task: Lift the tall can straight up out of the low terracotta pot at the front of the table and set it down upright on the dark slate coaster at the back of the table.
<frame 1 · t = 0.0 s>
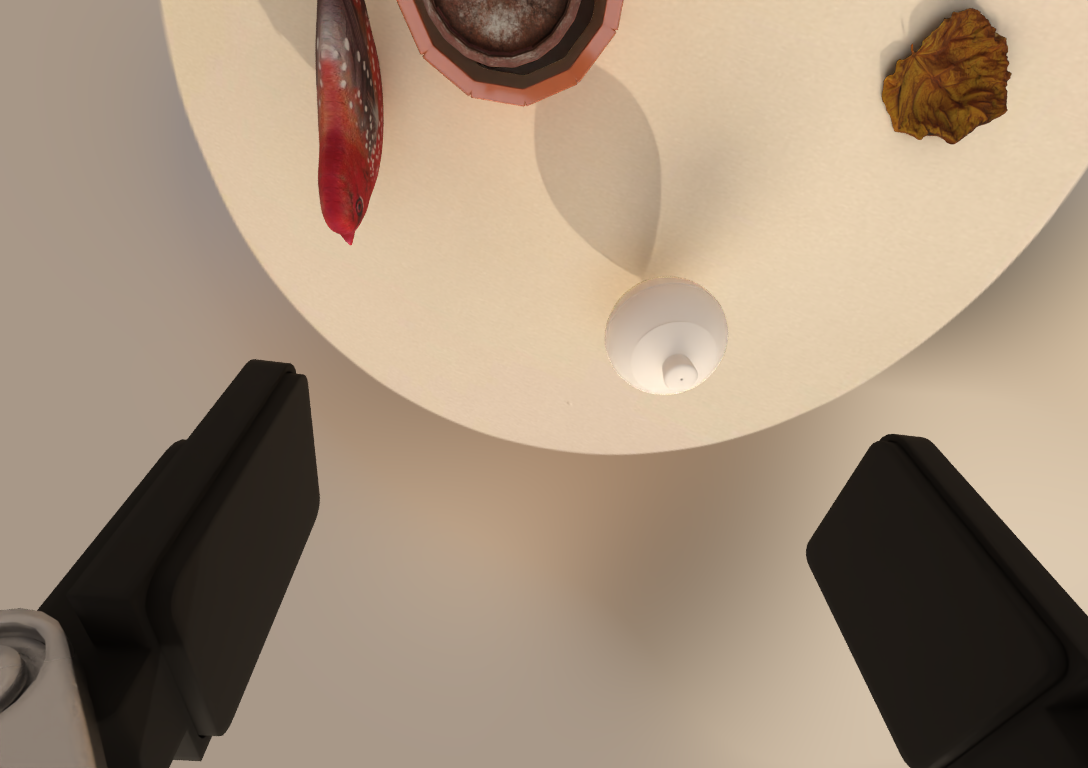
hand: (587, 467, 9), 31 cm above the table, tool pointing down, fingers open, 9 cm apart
spinning top: (646, 287, 41), on the table
decorative bird figurine: (369, 50, 33), on the table
leaf: (936, 78, 34), on the table
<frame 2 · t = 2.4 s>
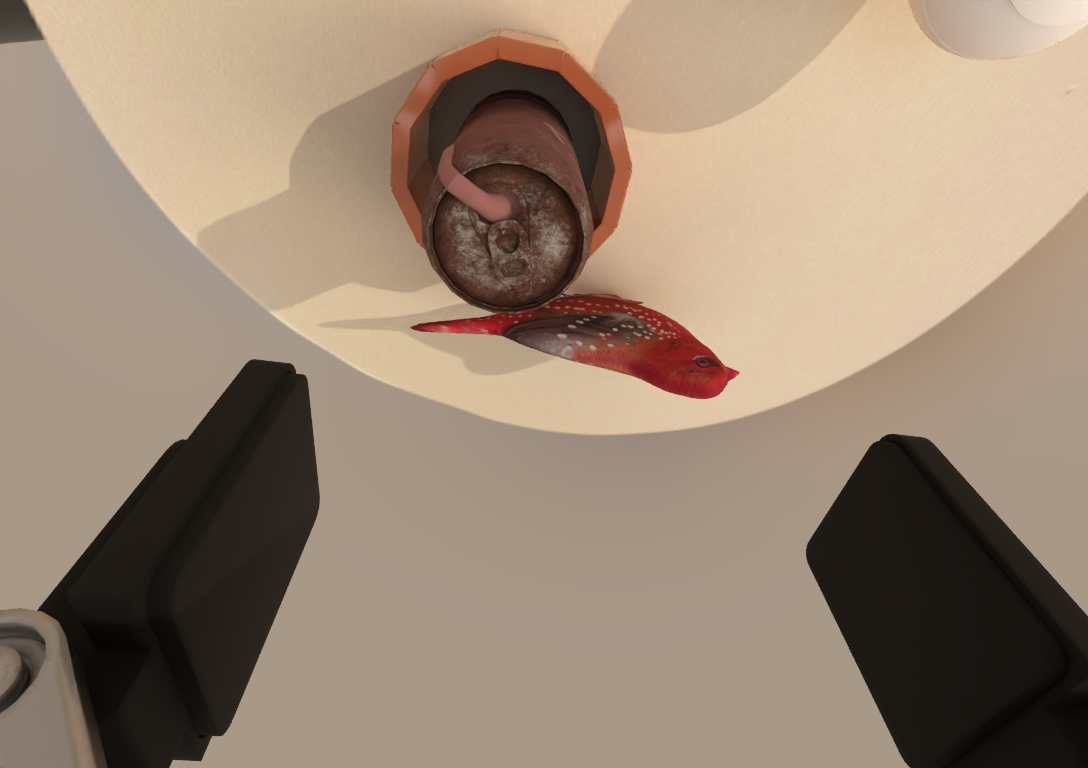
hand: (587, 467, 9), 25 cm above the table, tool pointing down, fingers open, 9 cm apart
can: (514, 148, 31), resting in pot
decorative bird figurine: (567, 291, 36), on the table
pot: (514, 148, 30), on the table
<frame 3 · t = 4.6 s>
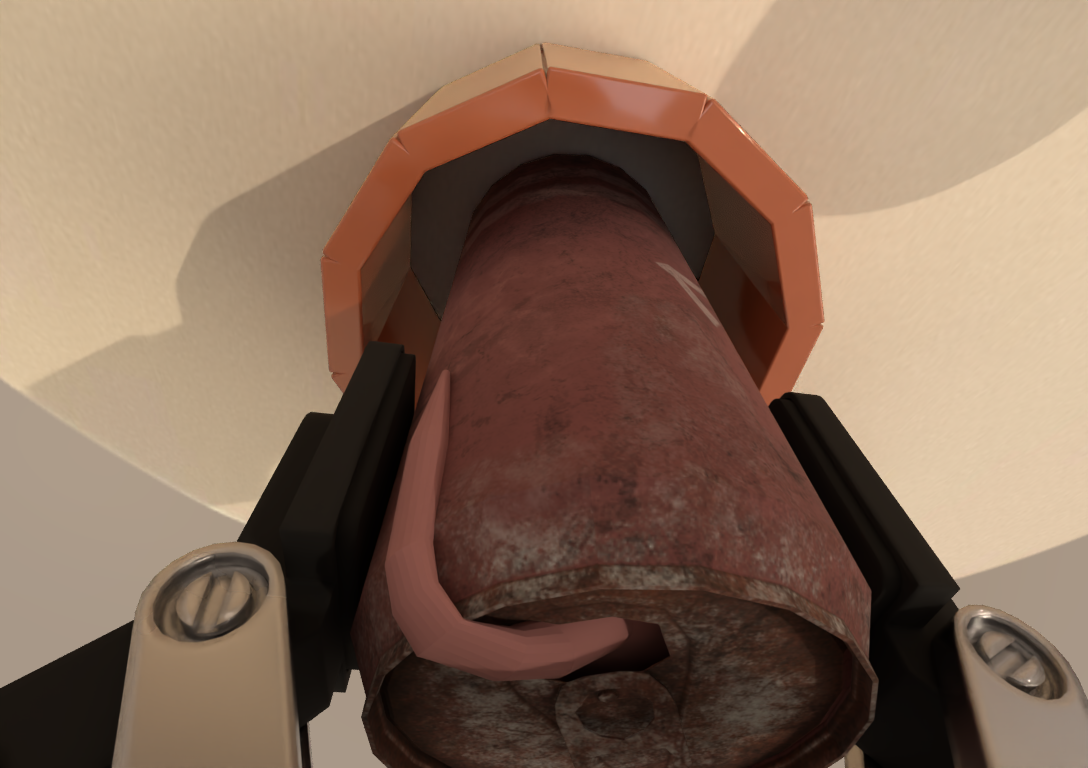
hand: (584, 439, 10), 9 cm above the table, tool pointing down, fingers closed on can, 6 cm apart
can: (560, 247, 18), resting in pot, touching gripper
pot: (560, 250, 17), on the table
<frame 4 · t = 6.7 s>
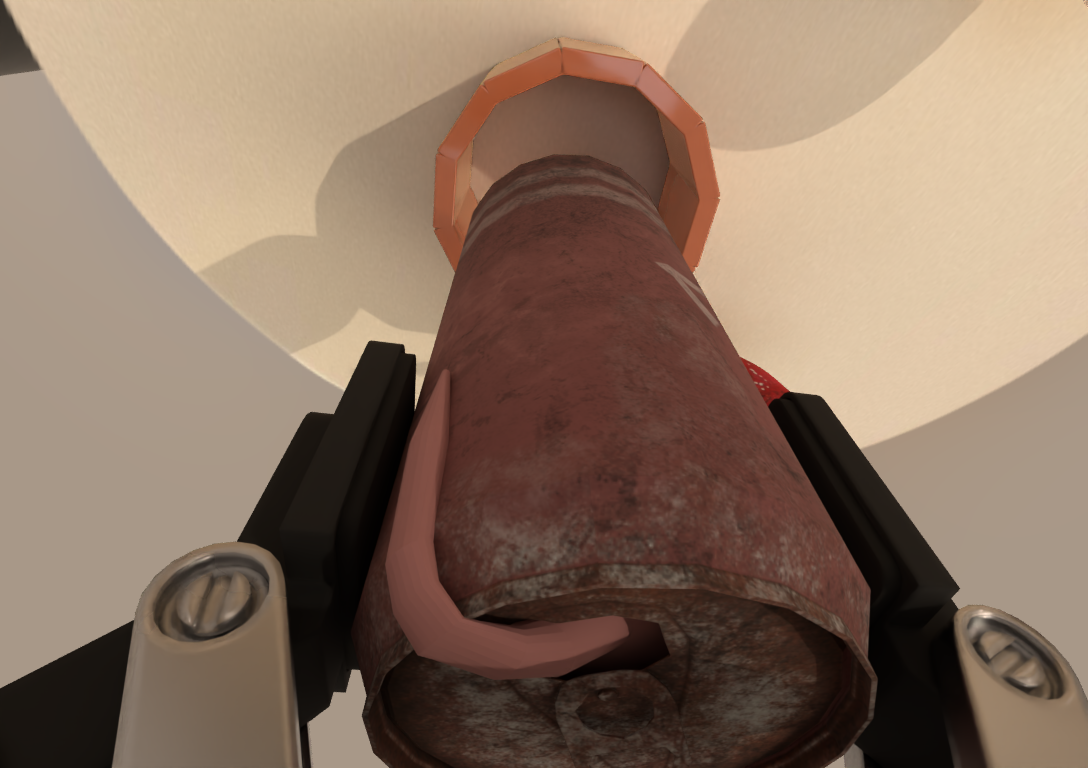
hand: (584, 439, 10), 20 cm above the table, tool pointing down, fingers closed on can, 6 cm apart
can: (560, 247, 18), point 11 cm above the table, touching gripper
decorative bird figurine: (626, 329, 31), on the table
pot: (568, 173, 26), on the table
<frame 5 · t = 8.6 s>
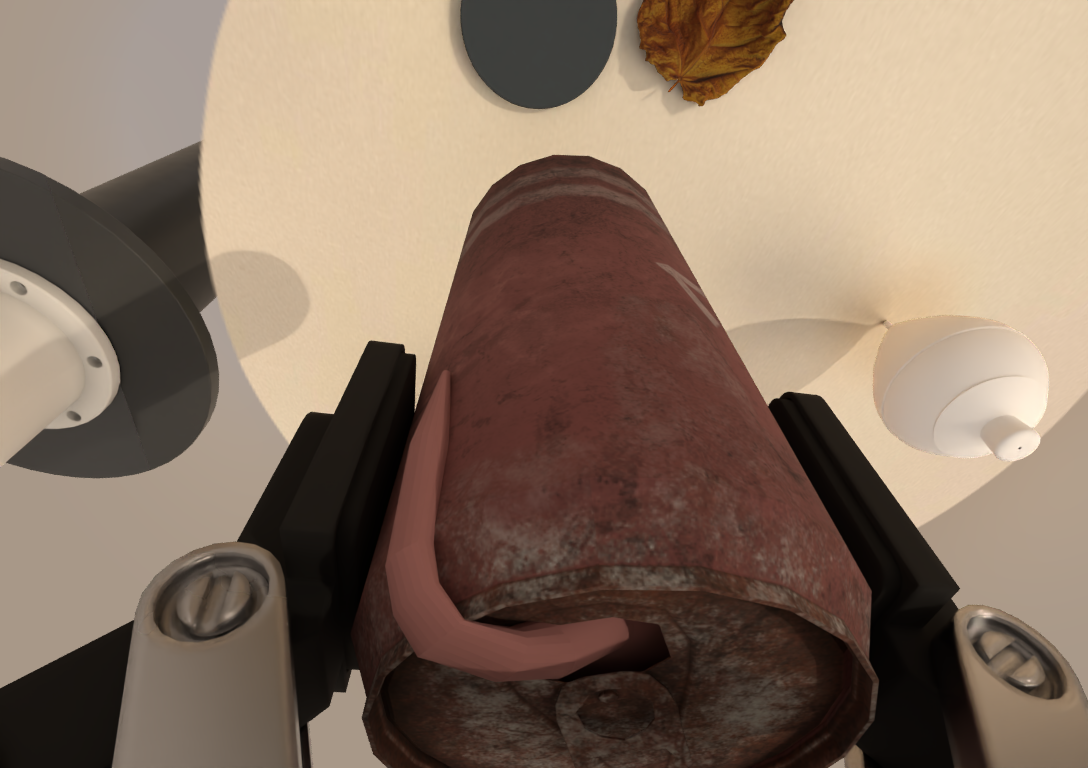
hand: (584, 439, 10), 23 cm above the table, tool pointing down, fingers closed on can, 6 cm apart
spinning top: (884, 320, 36), on the table
can: (560, 248, 18), point 14 cm above the table, touching gripper
leaf: (710, 20, 26), on the table
coaster: (538, 22, 26), on the table
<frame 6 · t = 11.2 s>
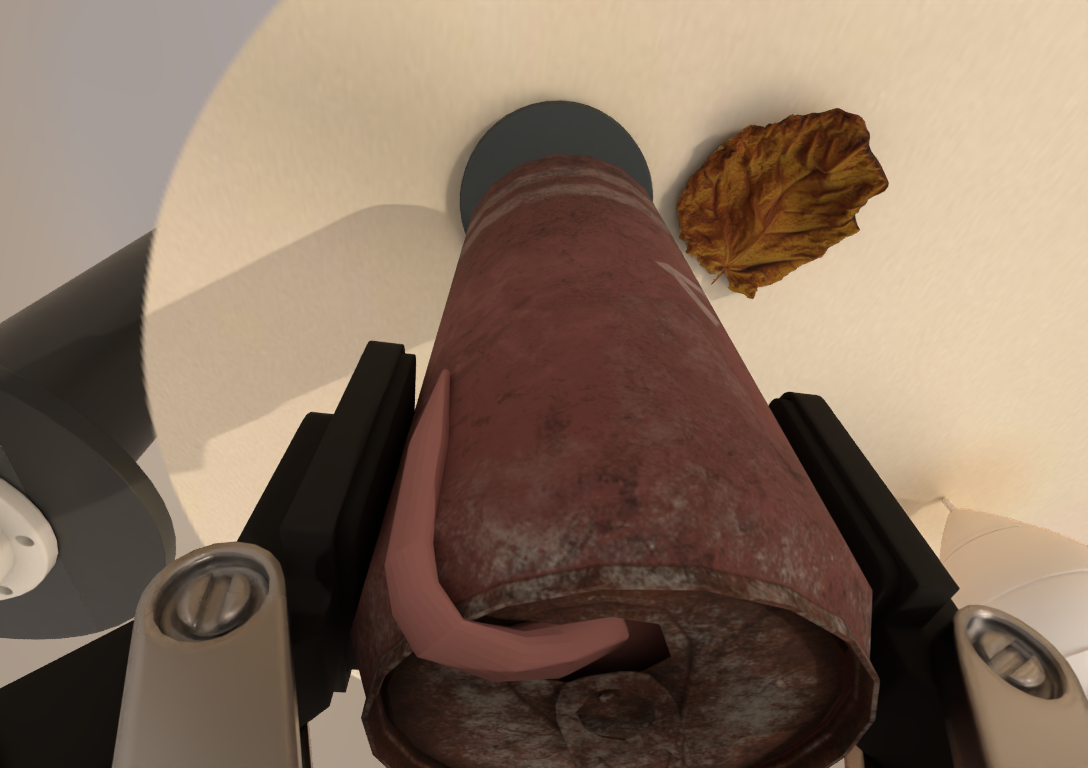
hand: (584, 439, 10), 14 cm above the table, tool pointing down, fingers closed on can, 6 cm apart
spinning top: (942, 496, 31), on the table
can: (560, 247, 18), point 4 cm above the table, touching gripper
leaf: (765, 203, 22), on the table
coaster: (556, 205, 21), on the table
when the fingers open (10 cm above the table, at t = 12.8 s): can stays where it is, resting on coaster.
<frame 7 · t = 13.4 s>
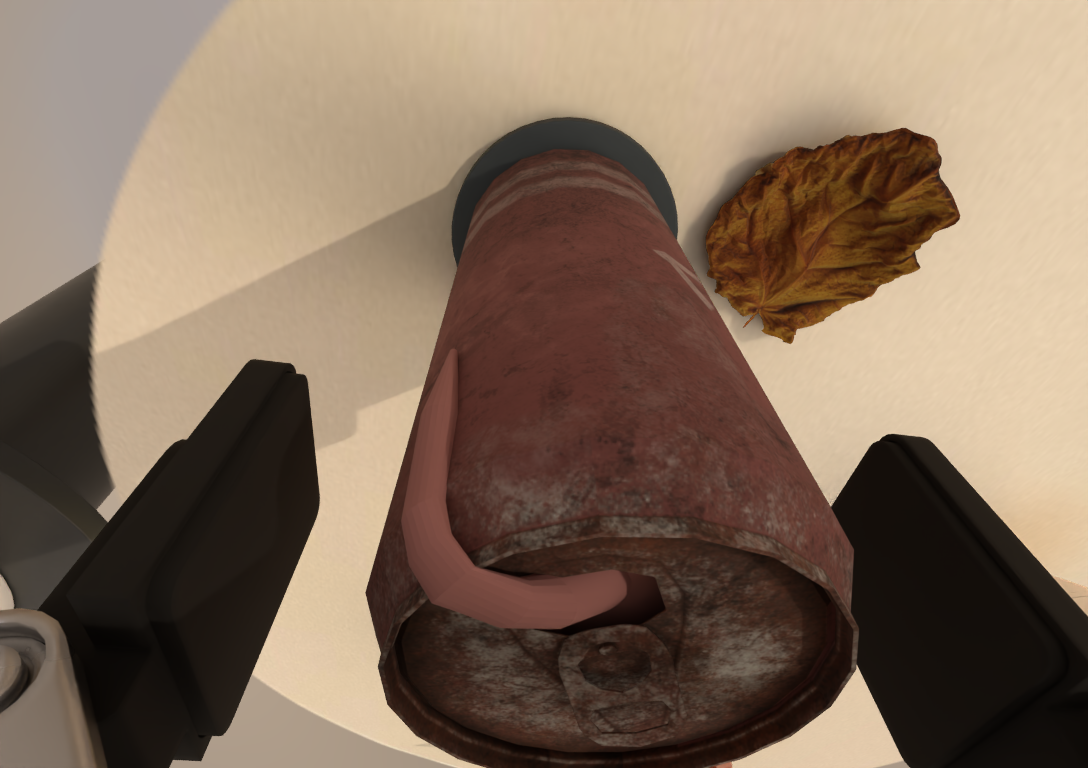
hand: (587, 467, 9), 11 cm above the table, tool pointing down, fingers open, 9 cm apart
spinning top: (990, 549, 28), on the table
can: (560, 240, 18), resting on coaster
leaf: (807, 235, 18), on the table
coaster: (564, 237, 18), on the table
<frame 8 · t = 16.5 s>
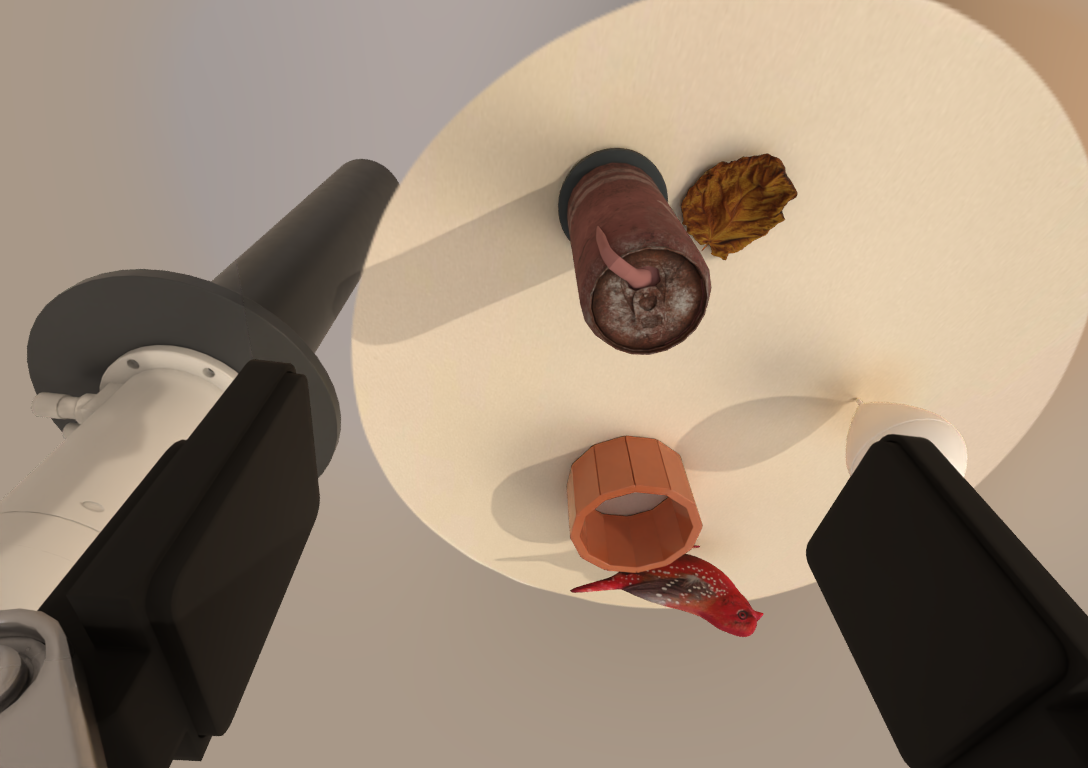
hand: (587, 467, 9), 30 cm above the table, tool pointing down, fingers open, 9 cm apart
spinning top: (856, 398, 47), on the table
can: (610, 206, 37), resting on coaster
decorative bird figurine: (652, 539, 57), on the table
leaf: (731, 204, 37), on the table
pot: (626, 481, 52), on the table
coaster: (612, 205, 37), on the table
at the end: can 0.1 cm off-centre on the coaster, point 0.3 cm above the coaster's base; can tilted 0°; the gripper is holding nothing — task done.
